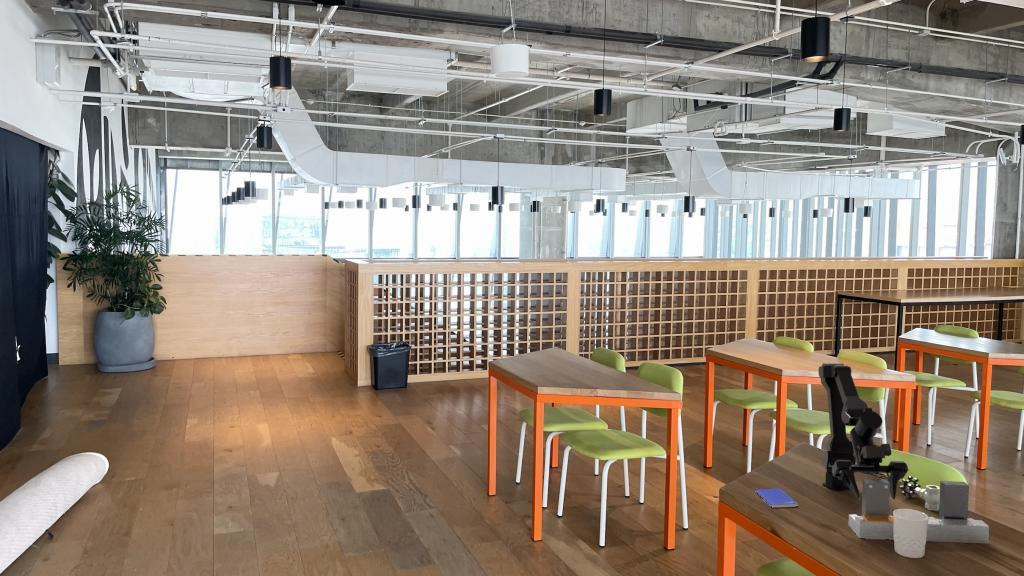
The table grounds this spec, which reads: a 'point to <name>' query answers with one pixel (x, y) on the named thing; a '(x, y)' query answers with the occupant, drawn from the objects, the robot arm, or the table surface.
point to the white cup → (910, 532)
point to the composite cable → (876, 474)
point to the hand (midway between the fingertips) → (876, 498)
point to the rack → (932, 520)
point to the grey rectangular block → (875, 497)
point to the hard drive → (776, 498)
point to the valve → (922, 493)
